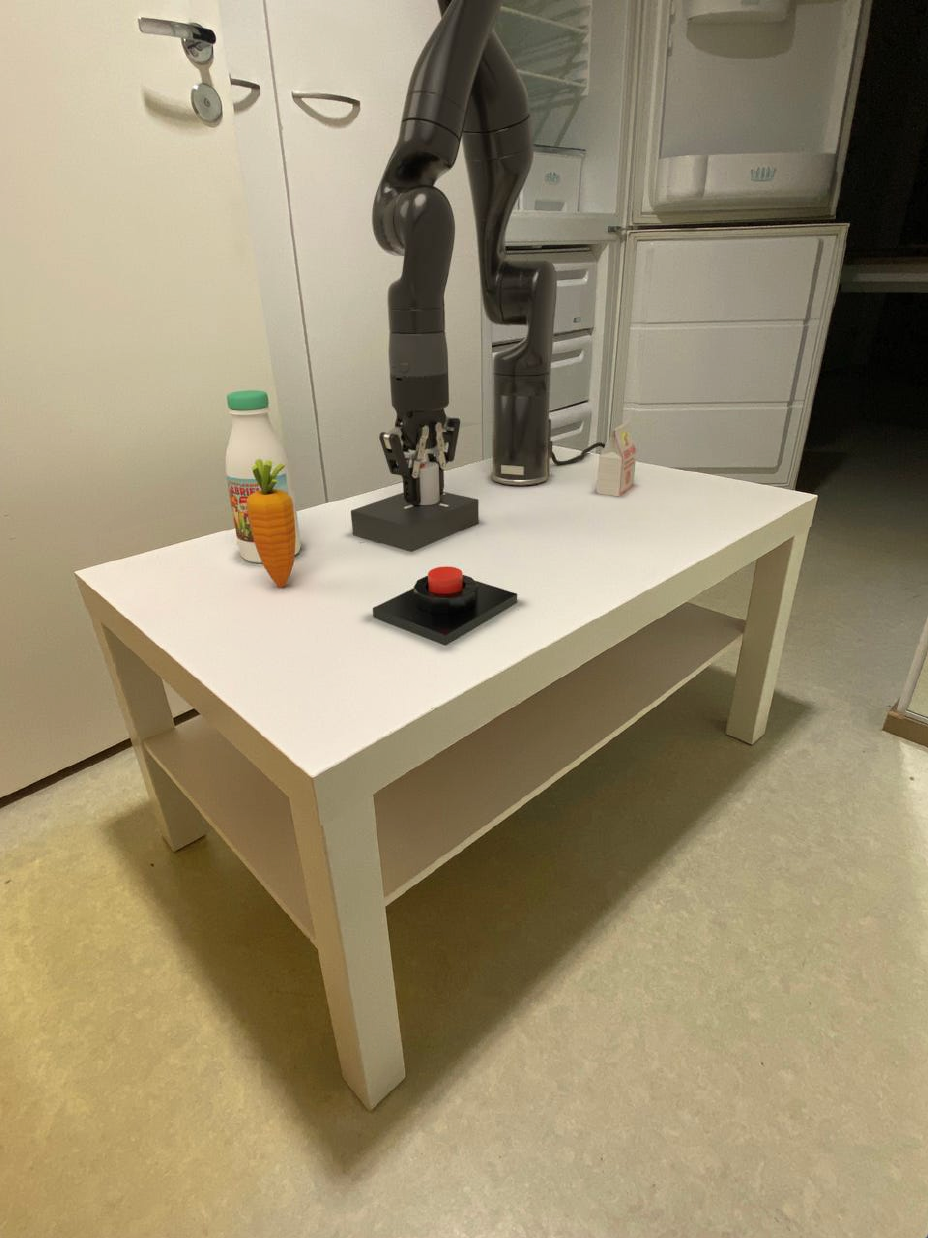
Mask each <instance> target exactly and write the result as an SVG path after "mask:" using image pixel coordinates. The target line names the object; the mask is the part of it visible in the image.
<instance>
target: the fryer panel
mask: <svg viewBox="0 0 928 1238" xmlns="http://www.w3.org/2000/svg"><path fill="white" fill-rule="evenodd" d="M479 508H480V507H479V499H477V498H473V497H469V496H465V495H459V494H455V493H452V492H451V493H450V492H446V491H443V495H441V496H440V501H439V502H438V503H436V504H432V505H413V504H409V503H407V502H406V500H405V498H404V491H403V492H400V493H398V494H395V495H391V496H389V497H385V498H383V499H380V500H377V501H374V502H371V503H369V504H366V505H362V506H360V507H357V508H354V509H350V518H351V529H352V535H353V536H356V537H359V538H362V539H366V540H368V541H371V542H374V543H375V542H376V543H378V544H382V545H386V546H390V547H392V548H396V549H400V550H403V551H406V552H409V553H412V552H415V551H417V550H420V549H422V548H425V547H427V546H428V545H431V544H434V543H436V542H438V541H441V540H443V539H445V538H447V537H450V536H452V535H454V534H456V533H460V532H462V531H464V530H467V529H469V528H471V527H473V526H475V525H478V524H480V523H479V521H480V519H479V517H480V516H479V514H480V513H479V512H480V511H479Z"/></svg>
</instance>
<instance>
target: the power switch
mask: <svg viewBox="0 0 928 1238" xmlns="http://www.w3.org/2000/svg"><path fill="white" fill-rule="evenodd" d="M516 604H518V593H516V592H514V591H510V590H506V589H504V588H500V587H497V586H494V585H490V584H487V583H484V582H481V581H478V580H475V579H474V578H473V577H471V576H468V575H465V574H463V589H462V590H461V591H459V592H455V593H449V594H443V593H435V592H432V591H429V586H428V575H425V576H423V577H421V578H419V579H418V580H416V582H415V583H414V586H413V588H410V589H409V590H407V591H404V592H403V593H401V594H399V595H396V596H395V597H392V598H390V599H388V600H386V601H384V602H382V603H379V604H378V605H376V606H373V607H372V618H373V619H375V620H376V619H377V620H379V621H381V622H383V623H386V624H388V625H391V626H394V627H396V628H399V629H401V630H404V631H406V632H409V633H411V634H414V635H416V636H419V637H422V638H425V639H427V640H430V641H432V642H433V643H434V642H435V643H438V644H440V645H442V646H448V645H449V644H451V643H453V642H454V641H456V640H457V639H459V638H462V637H463V636H464V635H466V634H468V633H469V632H471V631H472V630H474V629H476V628H478V627H479V626H481V625H483V624H484V623H486V622H488V621H489V620H491V619H493V618H494V617H497V616H498V615H500V614H501V613H504V612H505V611H506V610H508V609H510V608H511V607H513V606H514V605H516Z"/></svg>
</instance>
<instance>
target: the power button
mask: <svg viewBox="0 0 928 1238" xmlns="http://www.w3.org/2000/svg"><path fill="white" fill-rule="evenodd" d="M463 575H464V573H463V571H462V569H460V568H458V567H455V566H437V567H434V568H432V569H430V570H429V571H428V572H427V576H428V586H429V591H432V592H435V593H443V594H449V593H455V592H459V591H461V590H462V589H463Z"/></svg>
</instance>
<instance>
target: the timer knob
mask: <svg viewBox="0 0 928 1238" xmlns="http://www.w3.org/2000/svg"><path fill="white" fill-rule="evenodd" d="M409 468H411V463H409ZM418 477H419V478H420V497H421V502H420V503H419V504H417V505H432V504H436V503H438V502H439V501H440V493H439V465H438V464H437V463H434V462H427V461H421V462H420V468H419V475H418Z"/></svg>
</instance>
